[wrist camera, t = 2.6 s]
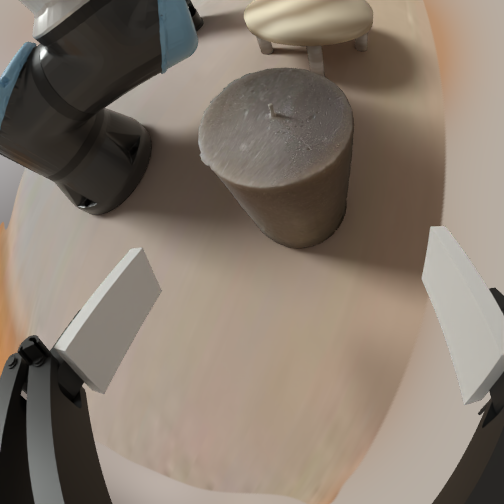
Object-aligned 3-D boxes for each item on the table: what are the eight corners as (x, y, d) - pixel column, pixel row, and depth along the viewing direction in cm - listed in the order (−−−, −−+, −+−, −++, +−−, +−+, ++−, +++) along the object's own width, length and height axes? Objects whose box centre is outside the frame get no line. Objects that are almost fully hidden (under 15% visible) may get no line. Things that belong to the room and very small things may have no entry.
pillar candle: (365, 206, 26) (392, 106, 12) (290, 269, 27) (249, 216, 12) (302, 145, 29) (277, 37, 15) (233, 199, 30) (162, 114, 16)
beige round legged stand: (235, 55, 35) (219, 17, 28) (308, 13, 34) (302, -21, 27) (320, 101, 30) (314, 53, 22) (392, 50, 29) (396, 10, 21)
